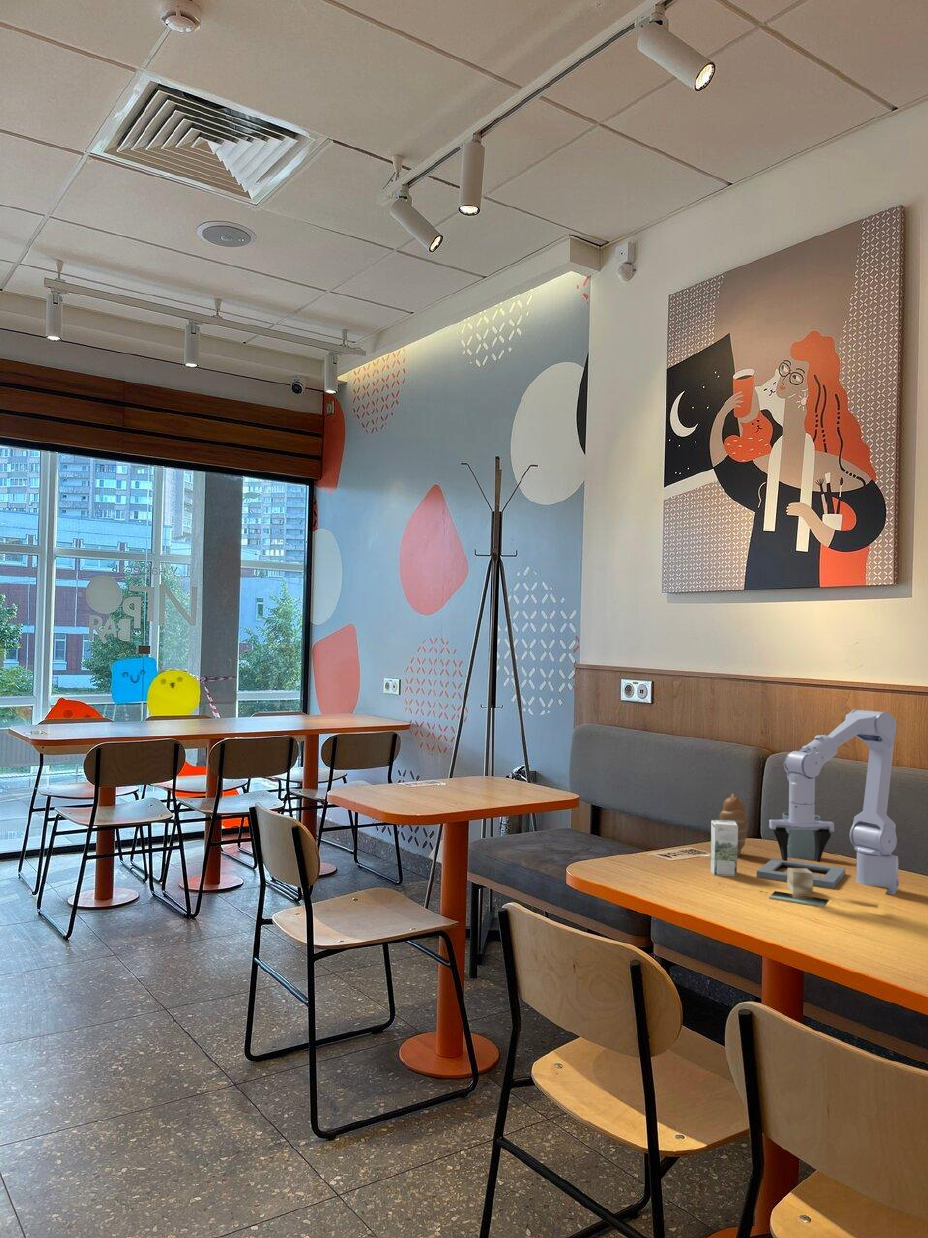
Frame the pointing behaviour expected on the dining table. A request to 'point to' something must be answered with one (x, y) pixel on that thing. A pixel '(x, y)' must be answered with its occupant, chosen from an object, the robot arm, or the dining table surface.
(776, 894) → the zone pad
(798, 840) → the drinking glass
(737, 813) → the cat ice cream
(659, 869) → the dining table surface
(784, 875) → the box
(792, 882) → the maple block
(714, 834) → the syrup box
